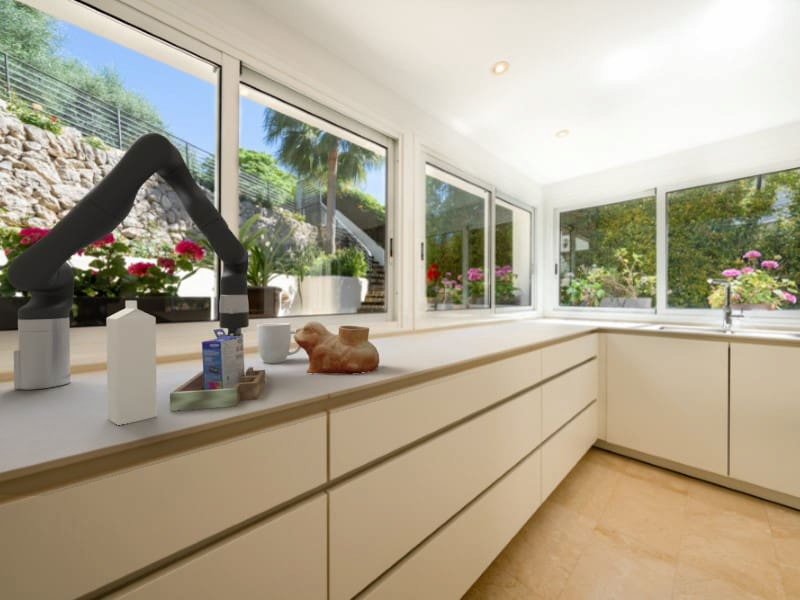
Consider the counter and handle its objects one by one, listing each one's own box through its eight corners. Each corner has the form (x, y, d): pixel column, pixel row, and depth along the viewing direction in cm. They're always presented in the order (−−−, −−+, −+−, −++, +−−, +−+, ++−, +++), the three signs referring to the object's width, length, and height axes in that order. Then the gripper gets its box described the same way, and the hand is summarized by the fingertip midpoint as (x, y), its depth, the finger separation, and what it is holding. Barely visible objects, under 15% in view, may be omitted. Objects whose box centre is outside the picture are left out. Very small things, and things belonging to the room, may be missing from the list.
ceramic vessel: (302, 365, 115) (302, 319, 115) (381, 365, 114) (381, 319, 113) (286, 374, 101) (286, 323, 101) (377, 375, 100) (376, 322, 100)
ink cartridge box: (226, 381, 93) (225, 327, 93) (245, 381, 93) (245, 327, 92) (201, 391, 83) (200, 331, 83) (223, 392, 83) (222, 331, 82)
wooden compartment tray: (170, 411, 69) (169, 393, 69) (204, 383, 91) (204, 369, 91) (254, 404, 73) (254, 387, 73) (267, 379, 95) (267, 366, 95)
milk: (145, 411, 69) (144, 300, 69) (157, 417, 66) (156, 300, 66) (106, 419, 65) (105, 300, 64) (117, 426, 61) (116, 300, 61)
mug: (301, 357, 129) (300, 322, 129) (303, 362, 119) (303, 324, 118) (257, 360, 124) (257, 323, 124) (256, 366, 113) (256, 325, 113)
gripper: (225, 310, 105) (225, 367, 105) (213, 312, 92) (214, 377, 92) (251, 309, 107) (252, 366, 107) (244, 311, 94) (245, 375, 94)
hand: (234, 371), depth 100 cm, fingers closed
